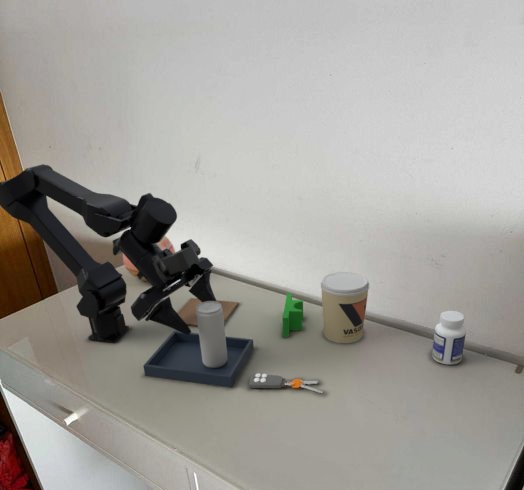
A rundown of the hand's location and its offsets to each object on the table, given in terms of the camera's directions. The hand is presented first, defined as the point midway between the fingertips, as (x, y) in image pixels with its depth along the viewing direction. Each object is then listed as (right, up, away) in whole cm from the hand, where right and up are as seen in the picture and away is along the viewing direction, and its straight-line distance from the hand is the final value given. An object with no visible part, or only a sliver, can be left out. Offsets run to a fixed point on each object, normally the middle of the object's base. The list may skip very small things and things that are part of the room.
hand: (204, 321), depth 91 cm
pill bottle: (+45, -7, +2) cm, 46 cm away
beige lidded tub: (+27, -2, +11) cm, 30 cm away
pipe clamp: (+17, 0, +16) cm, 23 cm away
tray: (-1, -8, +5) cm, 9 cm away
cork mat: (-3, +2, +22) cm, 22 cm away
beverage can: (+2, -8, +4) cm, 9 cm away
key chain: (+15, -12, -3) cm, 19 cm away
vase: (-19, +13, +42) cm, 48 cm away
